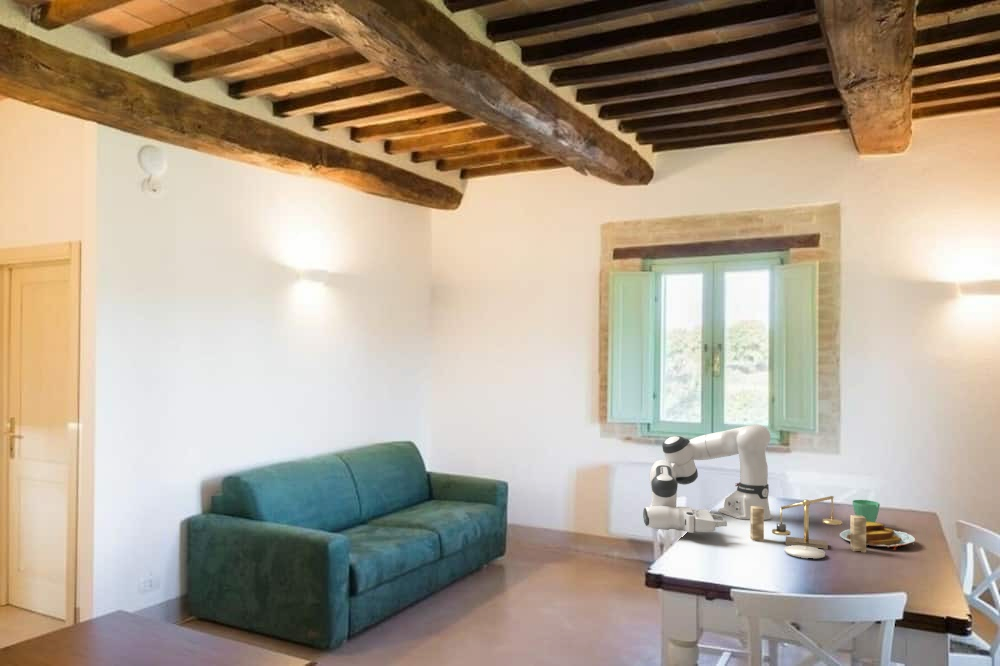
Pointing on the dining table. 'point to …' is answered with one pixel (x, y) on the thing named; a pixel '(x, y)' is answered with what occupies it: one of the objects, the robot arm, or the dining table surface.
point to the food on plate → (882, 536)
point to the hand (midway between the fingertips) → (724, 520)
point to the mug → (866, 509)
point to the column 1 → (757, 523)
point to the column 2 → (858, 533)
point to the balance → (806, 526)
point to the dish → (804, 551)
